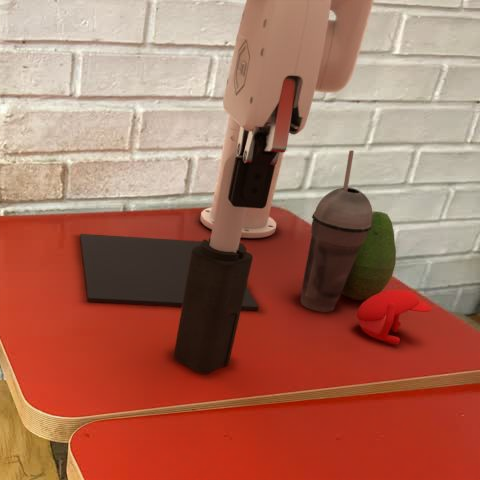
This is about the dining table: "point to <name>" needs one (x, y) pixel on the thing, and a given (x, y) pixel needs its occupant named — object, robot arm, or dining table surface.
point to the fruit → (373, 260)
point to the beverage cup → (334, 244)
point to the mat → (139, 270)
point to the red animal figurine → (387, 313)
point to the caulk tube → (214, 288)
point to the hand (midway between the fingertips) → (246, 204)
